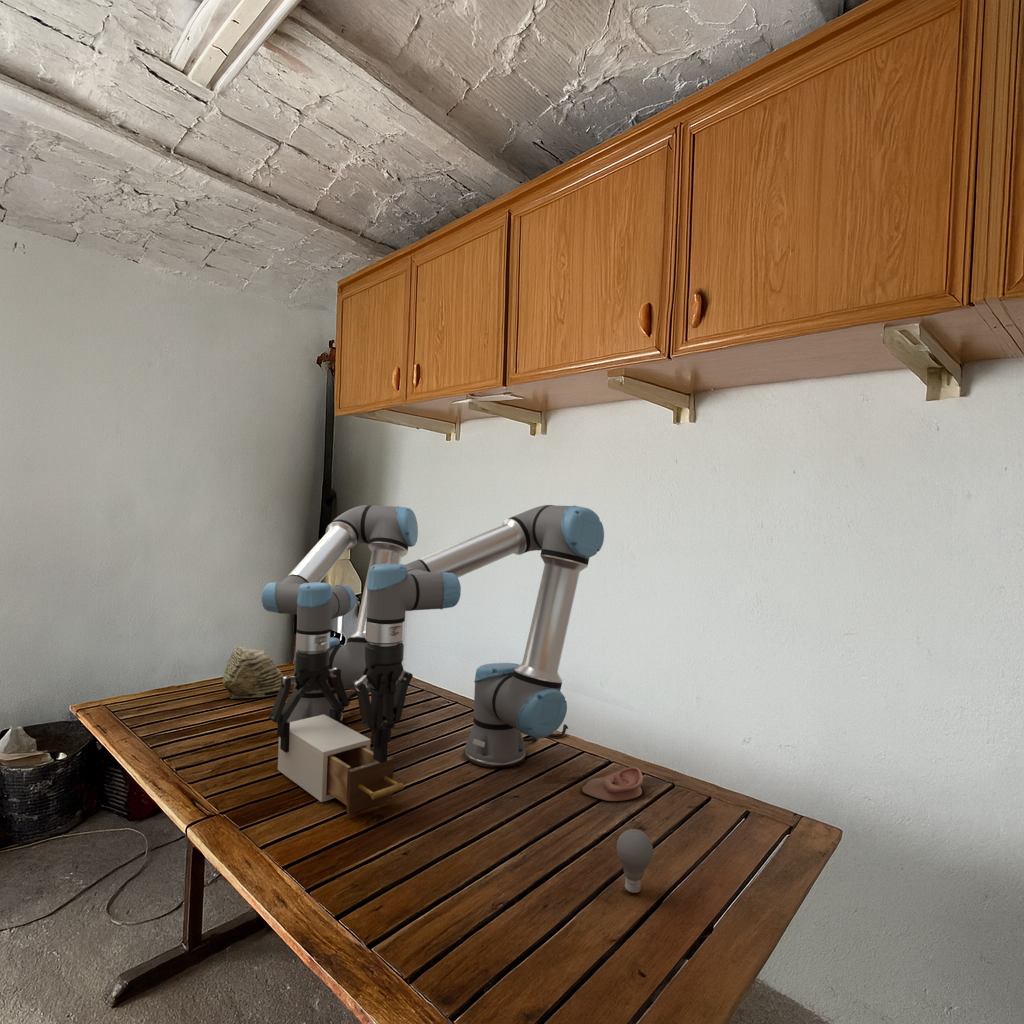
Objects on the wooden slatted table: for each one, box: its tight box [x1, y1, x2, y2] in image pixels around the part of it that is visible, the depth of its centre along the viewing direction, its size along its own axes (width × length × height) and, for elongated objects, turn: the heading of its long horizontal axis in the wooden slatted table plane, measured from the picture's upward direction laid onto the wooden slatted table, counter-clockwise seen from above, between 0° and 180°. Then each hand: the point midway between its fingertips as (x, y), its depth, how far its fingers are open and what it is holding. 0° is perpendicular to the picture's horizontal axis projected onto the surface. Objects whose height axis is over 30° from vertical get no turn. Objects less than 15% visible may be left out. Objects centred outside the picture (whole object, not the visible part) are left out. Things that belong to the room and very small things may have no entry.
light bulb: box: [615, 828, 654, 894], centre depth 106 cm, size 6×6×10 cm
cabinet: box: [277, 715, 371, 803], centre depth 142 cm, size 21×11×10 cm, turn 45°
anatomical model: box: [581, 766, 644, 802], centre depth 142 cm, size 13×4×12 cm
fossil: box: [222, 646, 284, 699], centre depth 198 cm, size 9×18×15 cm, turn 132°
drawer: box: [326, 746, 405, 815], centre depth 133 cm, size 25×10×8 cm, turn 45°
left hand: (309, 744), depth 147 cm, fingers closed on cabinet, 11 cm apart
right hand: (380, 759), depth 126 cm, fingers closed
